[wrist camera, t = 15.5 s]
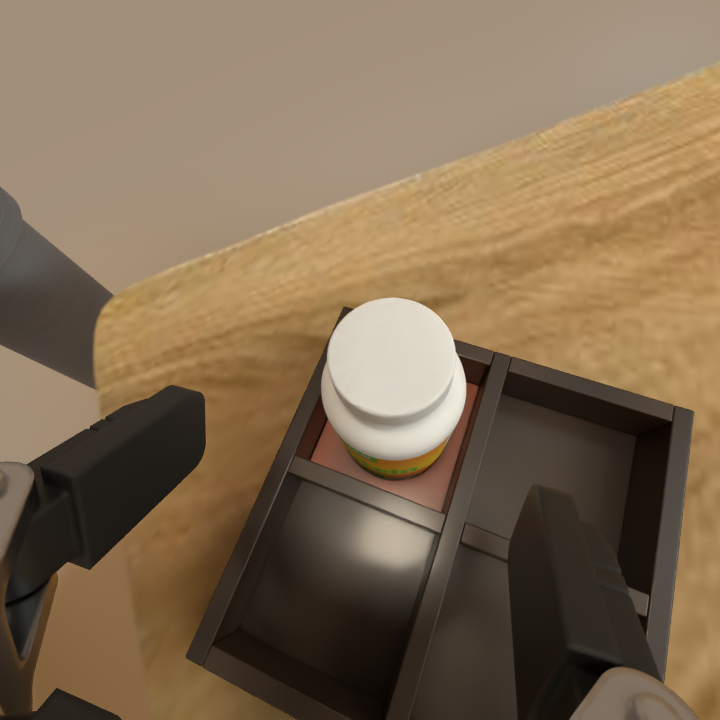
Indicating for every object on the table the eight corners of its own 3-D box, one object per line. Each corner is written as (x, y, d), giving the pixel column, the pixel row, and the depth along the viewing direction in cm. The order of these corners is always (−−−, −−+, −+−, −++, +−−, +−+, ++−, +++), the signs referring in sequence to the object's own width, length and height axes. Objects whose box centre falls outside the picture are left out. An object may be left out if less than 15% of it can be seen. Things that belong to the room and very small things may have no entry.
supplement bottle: (329, 464, 21) (277, 413, 12) (360, 368, 23) (334, 264, 14) (434, 495, 20) (460, 464, 11) (457, 392, 22) (495, 296, 13)
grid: (220, 637, 19) (183, 658, 16) (351, 336, 25) (343, 305, 22) (590, 831, 16) (640, 909, 13) (649, 430, 21) (695, 410, 18)
